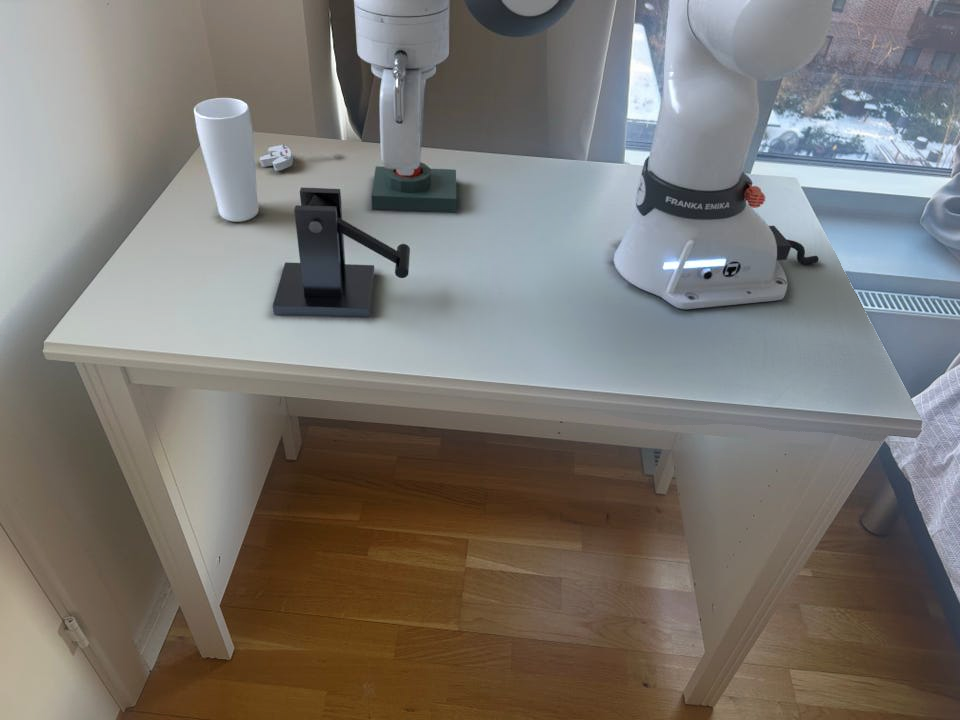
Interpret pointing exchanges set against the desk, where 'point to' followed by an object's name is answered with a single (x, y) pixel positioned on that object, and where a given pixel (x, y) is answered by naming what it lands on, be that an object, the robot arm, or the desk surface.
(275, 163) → the game controller
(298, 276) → the lever base
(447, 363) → the desk surface
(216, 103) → the drinking glass
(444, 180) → the power block
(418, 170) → the power button
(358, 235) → the black lever handle
